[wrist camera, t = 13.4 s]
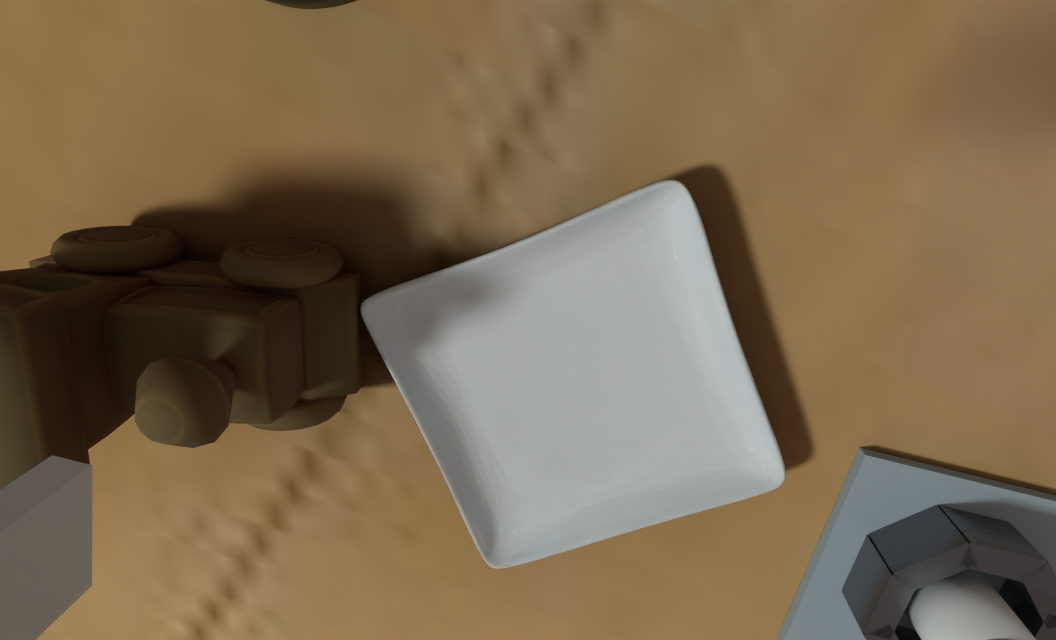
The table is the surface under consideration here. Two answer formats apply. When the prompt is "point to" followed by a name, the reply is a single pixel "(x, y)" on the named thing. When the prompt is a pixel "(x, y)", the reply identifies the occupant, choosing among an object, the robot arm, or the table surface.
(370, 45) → the table surface
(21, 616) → the robot arm
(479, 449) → the salad plate
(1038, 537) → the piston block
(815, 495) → the table surface
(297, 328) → the wooden toy train
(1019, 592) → the ring
